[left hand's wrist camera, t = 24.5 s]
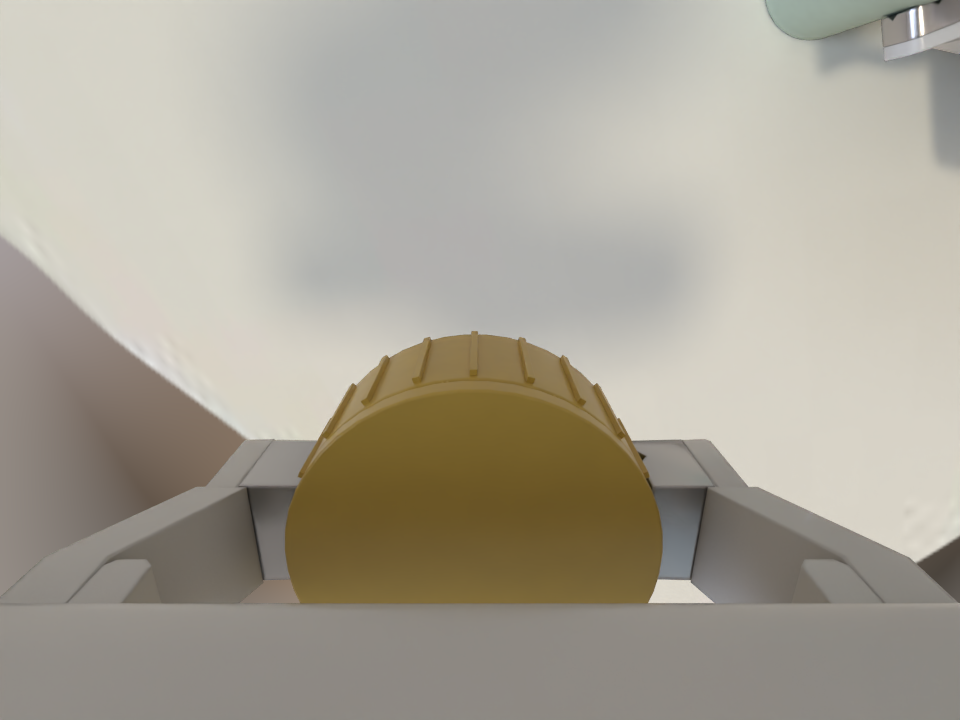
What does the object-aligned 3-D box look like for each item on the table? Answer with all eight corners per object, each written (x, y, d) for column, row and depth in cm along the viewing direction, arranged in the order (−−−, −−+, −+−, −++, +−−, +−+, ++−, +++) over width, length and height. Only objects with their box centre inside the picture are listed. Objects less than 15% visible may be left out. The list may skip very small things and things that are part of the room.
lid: (261, 459, 10) (197, 547, 8) (493, 260, 9) (498, 296, 6) (461, 632, 12) (456, 748, 9) (685, 485, 10) (743, 577, 8)
